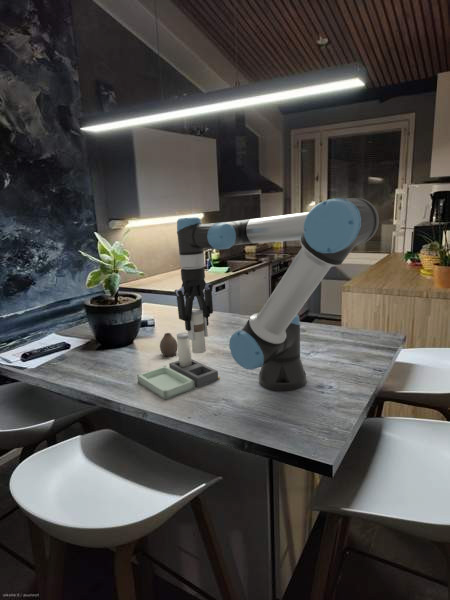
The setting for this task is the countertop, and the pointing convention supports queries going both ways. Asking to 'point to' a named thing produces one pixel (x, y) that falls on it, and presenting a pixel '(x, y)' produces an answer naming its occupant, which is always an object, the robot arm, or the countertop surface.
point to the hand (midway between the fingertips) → (198, 337)
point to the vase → (168, 345)
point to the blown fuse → (198, 331)
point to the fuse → (184, 350)
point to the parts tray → (166, 382)
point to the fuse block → (196, 372)
